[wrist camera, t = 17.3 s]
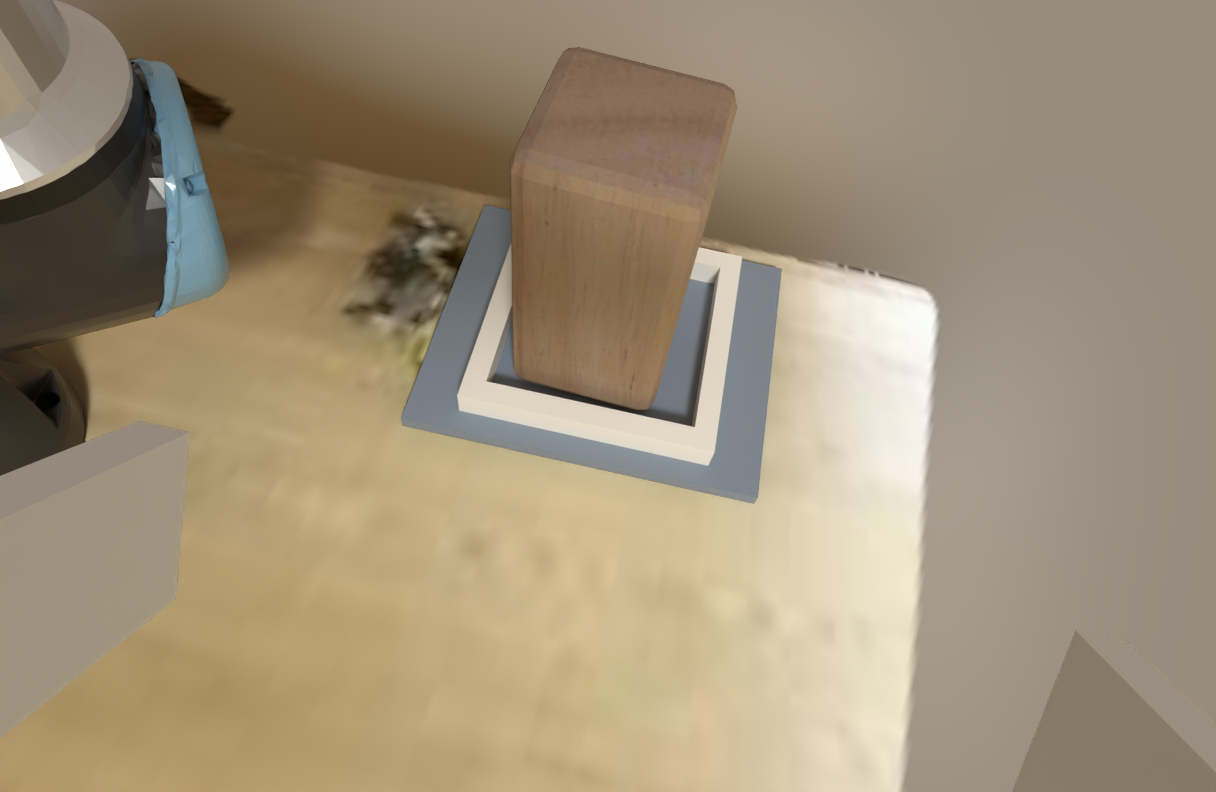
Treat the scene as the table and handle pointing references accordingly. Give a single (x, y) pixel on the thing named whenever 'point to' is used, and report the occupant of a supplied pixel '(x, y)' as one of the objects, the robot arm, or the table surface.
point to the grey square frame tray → (596, 431)
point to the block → (610, 221)
